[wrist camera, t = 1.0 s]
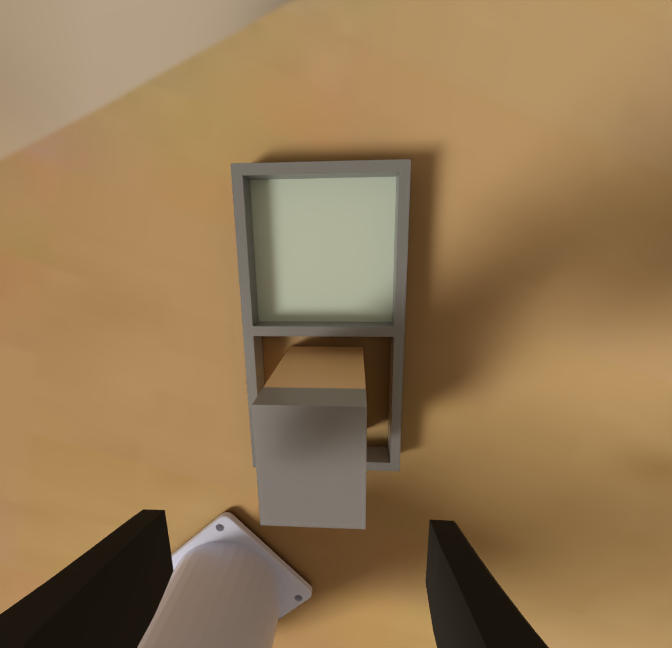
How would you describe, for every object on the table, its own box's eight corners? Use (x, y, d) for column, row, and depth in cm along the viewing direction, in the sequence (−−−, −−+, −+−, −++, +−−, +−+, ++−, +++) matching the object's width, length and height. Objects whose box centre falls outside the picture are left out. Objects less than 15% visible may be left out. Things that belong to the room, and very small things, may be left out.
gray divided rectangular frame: (396, 454, 20) (399, 471, 18) (260, 451, 20) (253, 467, 19) (406, 166, 16) (411, 159, 15) (241, 170, 17) (230, 163, 15)
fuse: (362, 430, 19) (365, 529, 13) (293, 428, 20) (260, 525, 13) (362, 347, 18) (367, 407, 12) (290, 346, 19) (251, 404, 12)
